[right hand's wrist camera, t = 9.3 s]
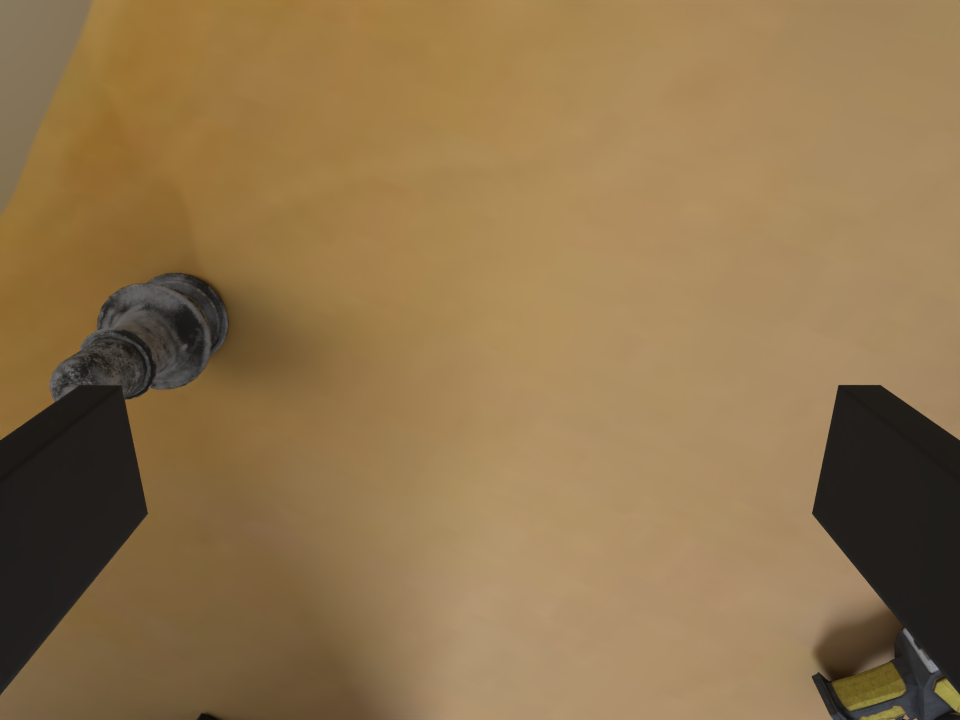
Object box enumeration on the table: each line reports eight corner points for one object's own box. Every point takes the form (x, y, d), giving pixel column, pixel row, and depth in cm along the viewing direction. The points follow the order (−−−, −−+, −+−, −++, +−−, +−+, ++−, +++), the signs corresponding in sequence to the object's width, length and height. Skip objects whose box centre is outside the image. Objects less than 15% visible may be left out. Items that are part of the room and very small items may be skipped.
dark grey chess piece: (112, 329, 39) (-37, 420, 27) (157, 246, 37) (19, 308, 26) (204, 384, 40) (97, 492, 29) (252, 306, 38) (158, 390, 27)
